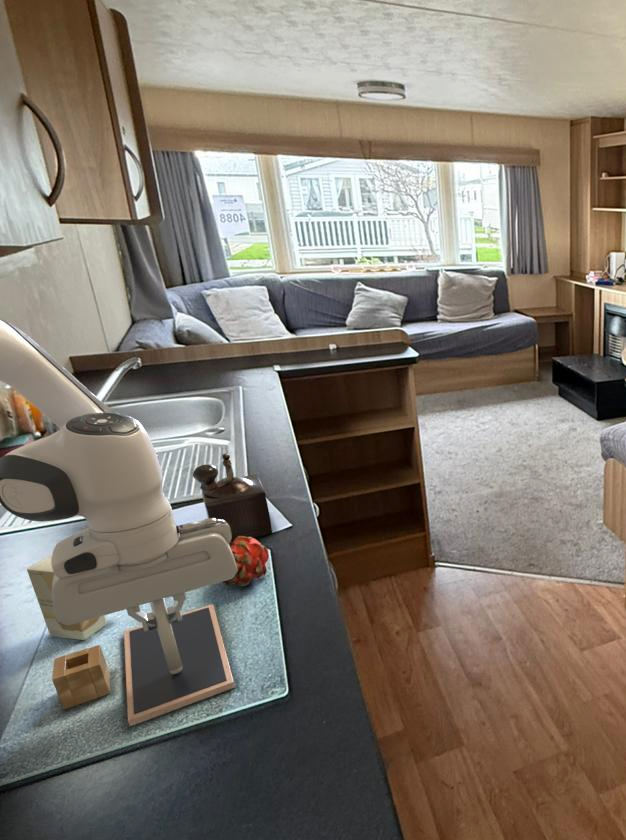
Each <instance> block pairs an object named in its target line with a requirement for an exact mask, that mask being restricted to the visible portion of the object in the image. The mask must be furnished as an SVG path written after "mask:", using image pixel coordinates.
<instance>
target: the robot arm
mask: <svg viewBox="0 0 626 840" xmlns="http://www.w3.org/2000/svg"><path fill="white" fill-rule="evenodd" d="M0 382H1V383H4V384H6V385H7V386H9V387H11V388H12V389H13V390H14V391H16V392H17V393H18V394H19V395H20V396H22V397H23V398H24V399H25V400H26V401H27V402H29V403H30V404H31V405H32V406H34V408H35V409H37V411H39V412H40V413H41V414H42V415H44V416H45V417H46V418H47V419H49V421H51V422H52V423H53V424H54V425H55V426H56V427H57V428H58V429H59V430H57V431H55V432H54V433H52V434H49V435H47V436H45V437H42V438H39V439H36V440H34V441H31V442H29V443H26V444H24V445H22V446H19V447H17V448H15V449H13V450H11V451H9V452H8V453H6V454H4V455H3V456H0V505H1V506H2V507H3V509H5V510H6V511H7V512H8V513H10V514H11V515H13V516H15V517H18V518H20V519H22V520H25V521H26V520H27V521H32V522H38V523H39V522H40V523H42V522H54V521H61V520H67V519H72V518H74V517H82V518H84V519H85V520H86V523H87V528H84V529H83V530H80V531H79V532H77V533H75V534H73V535H70V536H68V537H66V538H64V539H62V540H61V541H59V542H57V543H56V544H55V546H54V548H53V551H52V553H51V555H52V558H51V565H52V569H53V572H54V576H53V581H52V602H53V607H54V612H55V615H56V618H57V620H58V622H60V623H63V624H65V625H73V624H76V623H79V622H83V621H86V620H90V619H93V618H97V617H100V616H104V615H105V616H107V615H110V614H113V613H117V612H121V611H125V610H126V612H127V616H129V617H131V618H132V619H134V620H136V621H137V622H139V623H141V626H142V625H143V629H144V631H145V632H146V631H149V630H152V629H155V628H157V625H156V623H155V618H154V616H153V612H152V611H151V612H148V613H147V612H145V611H144V610H142V609H141V606H142V605H146V604H150V602H153V601H156V600H160V599H163V598H164V599H167V598H169V597H172V599H173V604H172V606H169V607H166V608H167V615H168V619H169V622H170V624H172V623H175V622H178V621H181V620H182V615H181V614H182V612H181V611H182V608H183V606H184V604H185V601H186V599H187V597H186V593H187V592H191V591H194V590H197V589H198V590H199V589H201V588H205V587H209V586H212V585H215V584H219V583H223V581H226V580H229V579H232V578H234V576H235V575H236V573H237V571H238V569H237V565H236V562H235V559H234V556H233V553H232V551H231V548H230V546H229V543H230V541H231V539H232V533H231V529H230V526H229V524H228V523H227V522H226V521H223V520H218V519H217V520H215V518H208V517H207V518H205V519H203V520H198V521H193V522H192V521H191V522H188V523H183V524H179V525H177V524H176V519H175V516H174V513H173V509H172V506H171V502H170V501H169V500H168V498H167V497H166V495H165V492H164V489H163V481H164V477H163V472H162V469H161V465H160V462H159V459H158V455H157V451H156V450H155V447H154V444H153V442H152V440H151V438H150V436H149V434H148V432H147V430H146V429H145V427H144V426H143V425H142V424H141V422H139V420H138V419H136V418H135V417H133V416H130V415H127V414H124V413H119V412H117V411H115V410H114V409H112V408H111V407H109V406H108V405H107V404H105V403H104V402H103V401H102V400H101V399H99V397H97V396H96V395H95V394H94V393H92V391H90V390H89V389H88V388H87V387H86V386H85V385H84V384H83V383H81V382H80V381H79V380H78V379H77V378H76V377H75V376H74V375H72V373H71V372H69V370H68V369H66V368H65V367H64V366H63V365H62V364H61V363H59V362H58V361H57V359H55V358H54V357H53V356H52V355H51V354H49V352H47V351H46V350H45V349H44V348H43V347H42V346H41V345H40V344H38V343H37V342H36V341H35V340H34V339H33V338H31V337H30V336H29V335H28V334H26V333H25V332H24V331H23V330H21V329H20V328H18V327H17V326H16V325H14V324H13V323H10V322H9V321H7V320H4V319H2V318H0ZM216 522H219V523H217V524H216Z"/></svg>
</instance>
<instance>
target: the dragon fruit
mask: <svg viewBox="0 0 626 840" xmlns="http://www.w3.org/2000/svg"><path fill="white" fill-rule="evenodd" d="M229 546H230V548H231V551H232V553H233V556H234V559H235V562H236V565H237V569H238V571H237V573H236V575H235V576H234V578H232V579H229V580H226V581H222V584H224V585H226V586H229V585H230V586H231V585H236V586H240V587H241V586H242V587H243V586H244V587H246V586H248V585H249V584H251V582H252V580H253V579H260V577H265V575H267V567H266V563H267V562H268V561H269V559H270V555H269V550H268V548H267V547H266V546H265V545H263V544H262V543H261V542H259V540H257V539H256V538H255V539H254V538H251V537H245V536H238V537H237V538H236V539H235V541H234V542H230V543H229Z"/></svg>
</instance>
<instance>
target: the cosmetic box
mask: <svg viewBox="0 0 626 840" xmlns="http://www.w3.org/2000/svg"><path fill="white" fill-rule="evenodd" d="M51 558H52V554H50V555H48V556H46V557H44V558H42V559H41V560H39V561H38V562H36V563H34V564H32V565H30V566H29V567H27V568H26V572H27V575H28V577H29V580H30V583H31V586H32V589H33V591H34V594H35V597H36V600H37V603H38V605H39V609H40V611H41V614H42V617H43V619H44V623H45V625H46V628H47V631H48V634H49V636H50V637H54V638H55V637H56V638H61V639H71V640H81V641H85V640H87V639H88V638H90V637H91V636H93V635H95V634H96V633H97V632H98V631H99V630H101V629H102V628H103V627H105V626H106V625H108V622H107V618H106V615H104V616H100V617H97V618H93V619H90V620H86V621H83V622H79V623H76V624H73V625H65V624H63V623H60V622H58V620H57V618H56V615H55V612H54V607H53V602H52V581H53V576H54V572H53V569H52V565H51Z"/></svg>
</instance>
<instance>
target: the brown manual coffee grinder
mask: <svg viewBox="0 0 626 840" xmlns="http://www.w3.org/2000/svg"><path fill="white" fill-rule="evenodd" d="M221 457H222V460H223V461H222V465H223V466H224V467H225V473H226V477H224V478H221V479H219V480H218V481H216V479H217V477H218V475H219V470H218V468H217V467H216V466H215V465H213V464H208V463H207V464H201V465H199V466H197V467H195V468H194V471H193V472H192V477H193V479H194V480H196V481H197V482H199V483H200V486H199V489H200V490H201V495H202V499H203V504H204V508H205V511H206V516H207V519H208V518H215V520H217V519H218V520H223V521H226V522H227V523H228V524H229V526H230V529H231V533H232V539H231V541H230V542H234V541H235V539H236V538H237V537H238V536H245V537H251V538H254V539H255V540H256V539H259V538H262V537H265V536H268V535H271V534H273V527H272V521H271V516H270V510H269V504H268V500H267V496H266V492H265V488H264V486H263V484H262V481H261V480H260V478H259V477H258V475H257V474H251V475H245V476H240V477H239V476H234V474H235V473H234V470H233V469H234V468H233V466H232V462H231V461H232V460H231V459H230V458H231V455H230V454H228V453H226V452H225V453H223V454H222V456H221ZM217 523H219V522H216V524H217Z"/></svg>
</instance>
